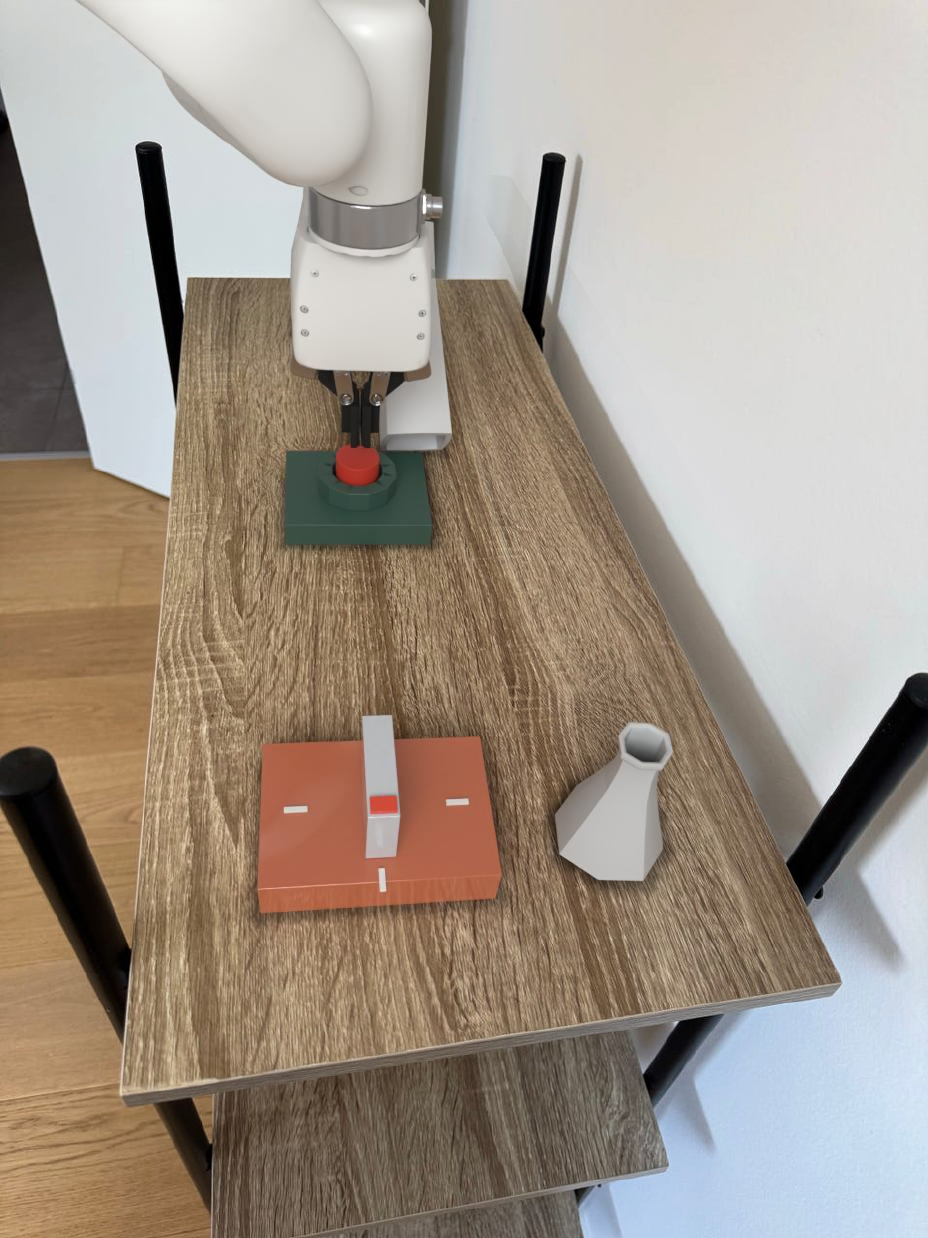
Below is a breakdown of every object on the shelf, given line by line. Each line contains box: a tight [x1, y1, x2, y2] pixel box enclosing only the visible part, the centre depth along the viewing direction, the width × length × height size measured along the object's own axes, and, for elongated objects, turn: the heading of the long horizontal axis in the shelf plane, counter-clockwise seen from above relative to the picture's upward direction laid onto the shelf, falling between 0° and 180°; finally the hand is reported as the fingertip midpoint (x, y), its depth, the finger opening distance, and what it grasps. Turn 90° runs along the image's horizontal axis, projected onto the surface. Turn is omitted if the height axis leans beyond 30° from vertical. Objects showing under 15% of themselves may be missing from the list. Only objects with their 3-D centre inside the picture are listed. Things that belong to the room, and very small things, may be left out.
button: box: [336, 443, 379, 485], centre depth 76 cm, size 4×4×2 cm
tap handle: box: [360, 714, 400, 858], centre depth 54 cm, size 7×2×5 cm, turn 7°
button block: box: [284, 448, 433, 546], centre depth 78 cm, size 12×10×4 cm
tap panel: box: [256, 735, 503, 914], centre depth 56 cm, size 14×11×3 cm
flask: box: [554, 721, 674, 882], centre depth 56 cm, size 7×7×10 cm
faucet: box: [379, 220, 453, 452], centre depth 88 cm, size 6×16×20 cm
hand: (359, 437), depth 74 cm, fingers closed
